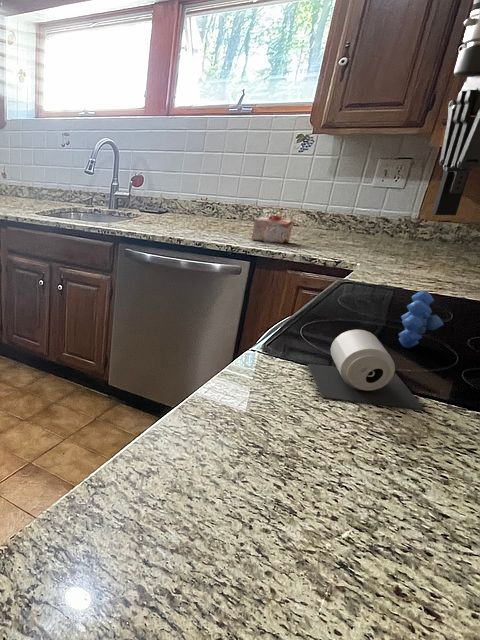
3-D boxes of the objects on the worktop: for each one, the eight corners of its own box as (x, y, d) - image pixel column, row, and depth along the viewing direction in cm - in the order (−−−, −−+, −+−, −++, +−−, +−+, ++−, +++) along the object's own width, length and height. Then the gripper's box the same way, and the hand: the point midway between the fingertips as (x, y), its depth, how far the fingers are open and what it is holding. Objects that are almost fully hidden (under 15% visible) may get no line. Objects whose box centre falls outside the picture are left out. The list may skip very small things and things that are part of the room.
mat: (395, 375, 93) (395, 373, 93) (424, 412, 81) (425, 409, 81) (306, 365, 98) (307, 363, 97) (322, 399, 85) (322, 397, 85)
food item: (293, 242, 201) (298, 215, 197) (284, 245, 196) (289, 218, 192) (257, 237, 210) (262, 212, 206) (248, 240, 206) (252, 214, 202)
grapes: (428, 362, 98) (450, 300, 93) (385, 352, 102) (404, 293, 98) (438, 345, 106) (458, 287, 101) (397, 336, 110) (415, 281, 105)
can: (356, 373, 96) (372, 403, 86) (319, 351, 97) (331, 378, 87) (389, 342, 92) (410, 369, 82) (350, 320, 93) (366, 343, 83)
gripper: (443, 51, 81) (401, 208, 90) (485, 38, 70) (432, 220, 79) (503, 47, 79) (453, 209, 88) (556, 34, 67) (493, 221, 77)
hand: (443, 214), depth 84 cm, fingers closed
